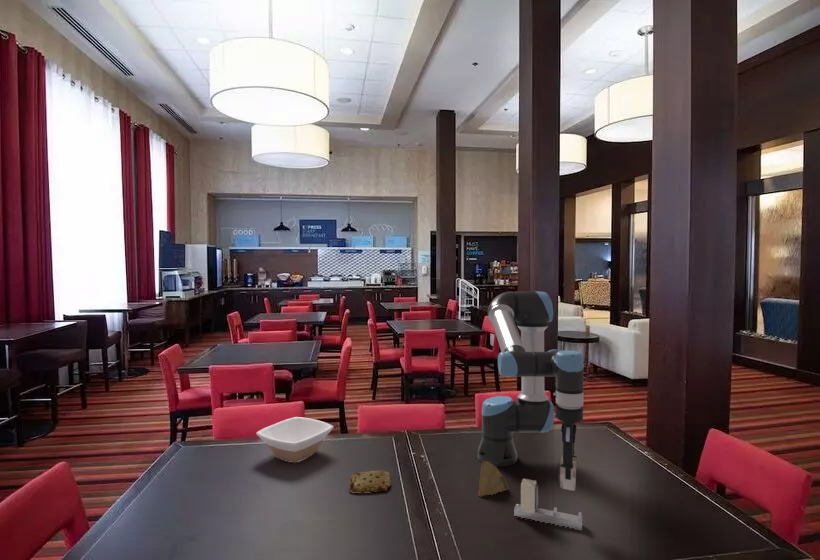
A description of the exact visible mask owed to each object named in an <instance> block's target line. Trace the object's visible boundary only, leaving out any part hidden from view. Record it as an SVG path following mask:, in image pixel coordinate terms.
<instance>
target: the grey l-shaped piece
mask: <svg viewBox="0 0 820 560" xmlns="http://www.w3.org/2000/svg"><path fill="white" fill-rule="evenodd" d="M538 506H539V485H538V484H537V480H534V479H533V480H532V479H528V478H522V480H521V483H520V504H519V503H515V506H514V508H513V509H514V510H513V512H514V513H513V516H518V517H521V518H520V519H522V518H527V519H532V520H535V521H534V522H537V521H540V522H539V523H542V522H545V523H544V524H547V523H551V524H550V525H552V524H555V525H554V526H557V525H559V526H558V527H562V526H565V527H564V528H567V527H569V528H568V529H572V528H574V529H573V530H578V531H583V515H582V512H581V511H578V514H577V515H576V514H571V513H566V512H561V511H558V507H553V510H549V509H546V508H542V507H541V508H539V507H538ZM518 517H517V518H518ZM527 519H526V520H527ZM532 520H531V521H532Z"/></svg>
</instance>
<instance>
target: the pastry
mask: <svg viewBox="0 0 820 560" xmlns="http://www.w3.org/2000/svg"><path fill="white" fill-rule="evenodd" d="M391 483H392V482H391V475H390V472H389V471H386V470H370V471H359V472H355V473H353V474H351V477H350V479H349V487H348V491H349V490H350V491H352V492H375V491H378V490H379V491H378V492H381V491H385V492H387V491H388V489H389V488H390V487H391V486H392V484H391ZM350 491H349V492H350Z"/></svg>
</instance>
